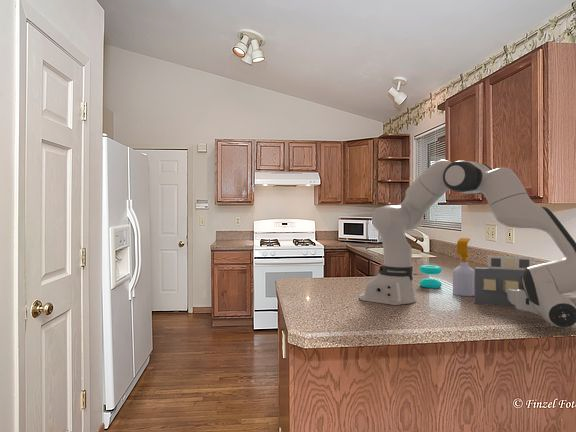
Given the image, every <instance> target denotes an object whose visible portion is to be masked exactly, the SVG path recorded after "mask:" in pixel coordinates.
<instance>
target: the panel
mask: <svg viewBox="0 0 576 432" xmlns="http://www.w3.org/2000/svg"><path fill="white" fill-rule="evenodd" d="M533 262H534V257H532V256H531V257H530V256H509V255H508V256H506V255H487V267H479V266H477V267H474V270H475V295H474V299H473V300H474V304H475V305H476V304H477V305H488V306H489V305H490V306H498V307H499V306H500V307H510V308H511V307H512V308H516V306H515V305H513V304H512V303H511V302H510V301H509V300H508V298H507V293H506V292H505V291H504V290H503V279H507V280H516V281H517V282H518V283H519V289H523V286H522V282H521V276H522V273H523V271H524V269H525V268H526V267H530V266H533ZM483 278H490V279H495V280H496V290H484V289H483Z"/></svg>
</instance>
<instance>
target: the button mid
mask: <svg viewBox="0 0 576 432" xmlns="http://www.w3.org/2000/svg"><path fill="white" fill-rule="evenodd" d="M508 289H519V283H518V282H517V281H516V280H507V279H503V290H504V291H505V292H506V293H507V291H508Z"/></svg>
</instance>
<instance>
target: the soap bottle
mask: <svg viewBox="0 0 576 432" xmlns="http://www.w3.org/2000/svg"><path fill="white" fill-rule="evenodd" d="M470 240H471V239H470V238H468V237H467V238H464V237H463V238H462V237H460V238H459V239H458V241H457V244H456V247H457V248H456V249H457V250H456V255H458V256H460V258H461V259H460V260H459V265H458V266H457V267H455V268H453V271H452V294H454V295H455V296H459V297H473V296H474V295H475V269H474V268H472V267H471V266H470V265H469V260H467V258H469V257H468V256H471V253H468V243H469V242H470Z"/></svg>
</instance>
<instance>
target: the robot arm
mask: <svg viewBox="0 0 576 432" xmlns="http://www.w3.org/2000/svg"><path fill="white" fill-rule="evenodd" d="M448 190H451V191H453V192H454V193H461V194H467V195H468V194H469V195H471V194H476V195H477V194H478V195H481V194H482V195H484V198H486V201H487V204H488V206H489V208H490V210H491V213H492V214H493V216H494V218H495V220H496V221H497V222H499V224H501V225H504V226H506V227H511V228H516V229H517V228H518V229H536V230H541V231H543V232H545V233H546V234H548V236H549V237H550V238H551V239H552V241H553V242H554V244H555V245H556V247H558V249H559V250H560V252H561V253H562V255H563V257H561V258H559V259H555V260H551V261H547V262H543V263H538V264H537V263H536V265H534V266H530V267H526V268H525V269H524V271H523V273H522V276H521V282H522V286H523V289H508V291H507V298H508V300H509V301H510V302H511V303H512V304H513V305H515V306H516V307H515V308H516V310H518V311H523V312H529V313H532V314H535V315H539V316H541V318H543V320H545V321H546V322H547V323H549V324H550V325H551V326H553V327H554V326H555V327H557V328H562V329H563V328H564V329H565V328H569V327H573V326H574V325H575V324H576V293H572V292H576V241H575V239H574V238H573V237H572V235H571V234H570V233H569V232H568V230H567V229H566V228H565V227H564V224H562V222H561V221H560V220H559V219H558V218H557V216H556V215H555V214H554V213H553V212H552V211H551V210H550V209H549V208H548V207H546V206H540V205H538V204H537V203H536V202H534V201H533V200H532V199H531V198H530V196H529V194H528V192H527V190H526V189H525V187H524V185H523V183H522V181H521V180H520V178H518V176H517V175H516V174H515V172H514V171H513V170H512V169H510V168H508V167H497V168H495V169H493V168H491V166H489V165H487V164H483V163H480V162H477V161H467V160H457V161H454V162H451V161H450V160H446V159H440V160H437V161H435V162H434V163H433V164H431V165H430V166H429V167H427V168H426V169H425V170H424V171H423V172H422V173H421V174H420V175H419V176H418V177H417V178H416V179H415V180H414V181H413V183H411V185H409V186H408V188H406V190H405V197H404V199H403V200H402V202H401V203H399V204H397V205H396V204H393V205H392V204H387V205H384V206H380V207H377V208H375V210H374V211H373V213H372V215H371V223H372V225H373V227H374V228H375V229H376V231H377V232H378V234H379V235H380V238H381V244H382V246H383V247H382V248H383V264H379V266H378V274H377V275H375V276H374V277H372V278H371V279H370V280H369V281H368V282H367V283H366V284H365V288H364V291H363V292H362V293H360V294H359V297H358V299H359V300H360V301H364V302H370V303H378V304H384V305H385V304H386V305H393V306H400V305H406V304H413V303H416V302H417V300H416V297H415V292H414V287H413V286H414V284H413V279H414V267H413V264H412V263H413V261H412V260H413V259H412V257H413V252H412V250H413V247H412V245H410V243H409V242H408V241H407V237H406V234H405V232H411V231H413V230H416V229H418V228H419V227H421V225H422V223H423V217H424V216H425V214H426V213H427V211H428V210H429V209H430V208H431V207H432V206H433V205H434V204H435V203H436V202H437V201H438V200H439V199H440V198H442V197H443V195H444V194H445V193H446V192H447V191H448Z"/></svg>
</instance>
